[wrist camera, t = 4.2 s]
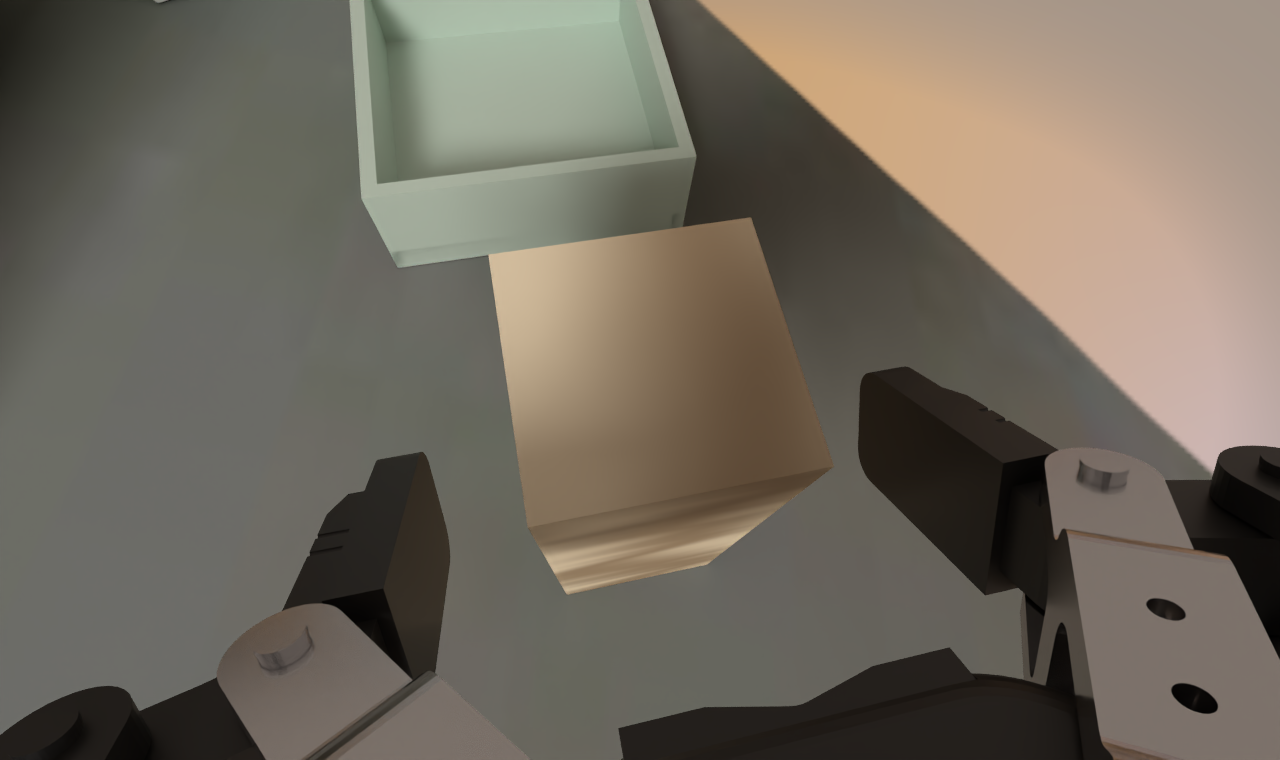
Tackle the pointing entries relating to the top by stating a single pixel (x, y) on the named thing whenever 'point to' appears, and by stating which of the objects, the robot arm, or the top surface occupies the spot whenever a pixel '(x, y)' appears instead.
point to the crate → (515, 124)
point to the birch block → (651, 398)
